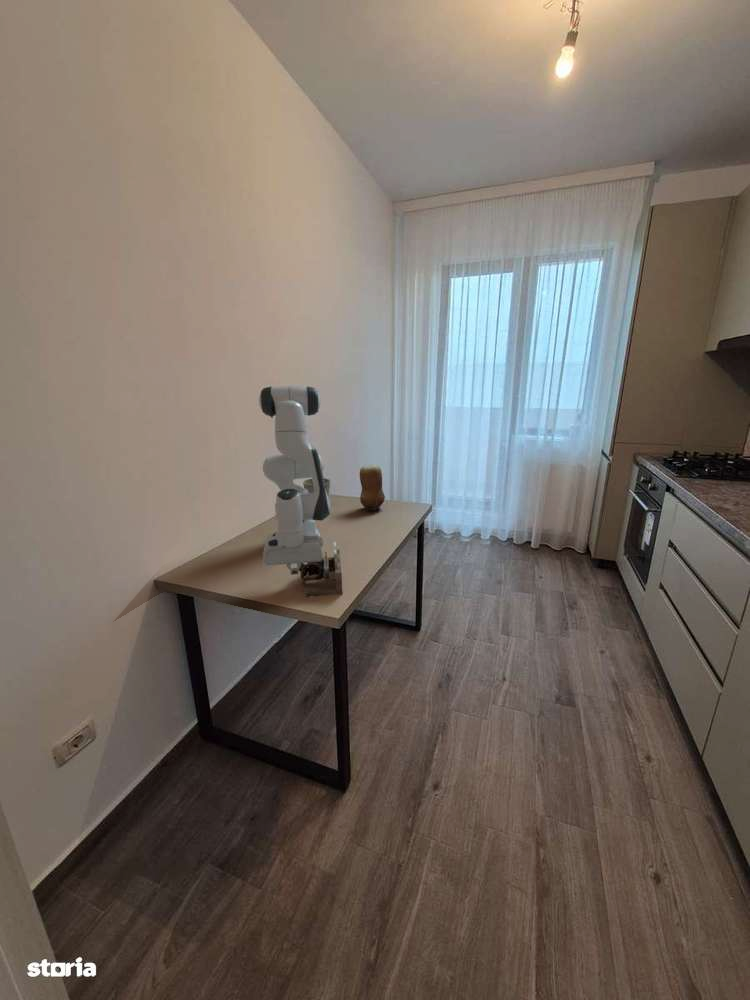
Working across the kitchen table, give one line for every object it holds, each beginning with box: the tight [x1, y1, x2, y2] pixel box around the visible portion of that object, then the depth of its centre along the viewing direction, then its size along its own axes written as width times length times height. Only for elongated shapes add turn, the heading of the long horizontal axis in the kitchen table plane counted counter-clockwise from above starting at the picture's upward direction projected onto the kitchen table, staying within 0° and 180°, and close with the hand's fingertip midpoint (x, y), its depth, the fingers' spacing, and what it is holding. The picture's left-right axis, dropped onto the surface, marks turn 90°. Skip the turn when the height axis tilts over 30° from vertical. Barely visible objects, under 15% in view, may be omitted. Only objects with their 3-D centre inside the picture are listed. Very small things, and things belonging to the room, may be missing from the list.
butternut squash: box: [359, 464, 386, 511], centre depth 216 cm, size 14×13×25 cm
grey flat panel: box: [323, 551, 330, 579], centre depth 140 cm, size 10×2×11 cm, turn 7°
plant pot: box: [302, 478, 331, 496], centre depth 221 cm, size 15×15×16 cm
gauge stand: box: [305, 540, 344, 598], centre depth 140 cm, size 19×12×13 cm, turn 7°
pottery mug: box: [299, 563, 325, 588], centre depth 142 cm, size 12×10×8 cm
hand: (295, 573), depth 140 cm, fingers closed
